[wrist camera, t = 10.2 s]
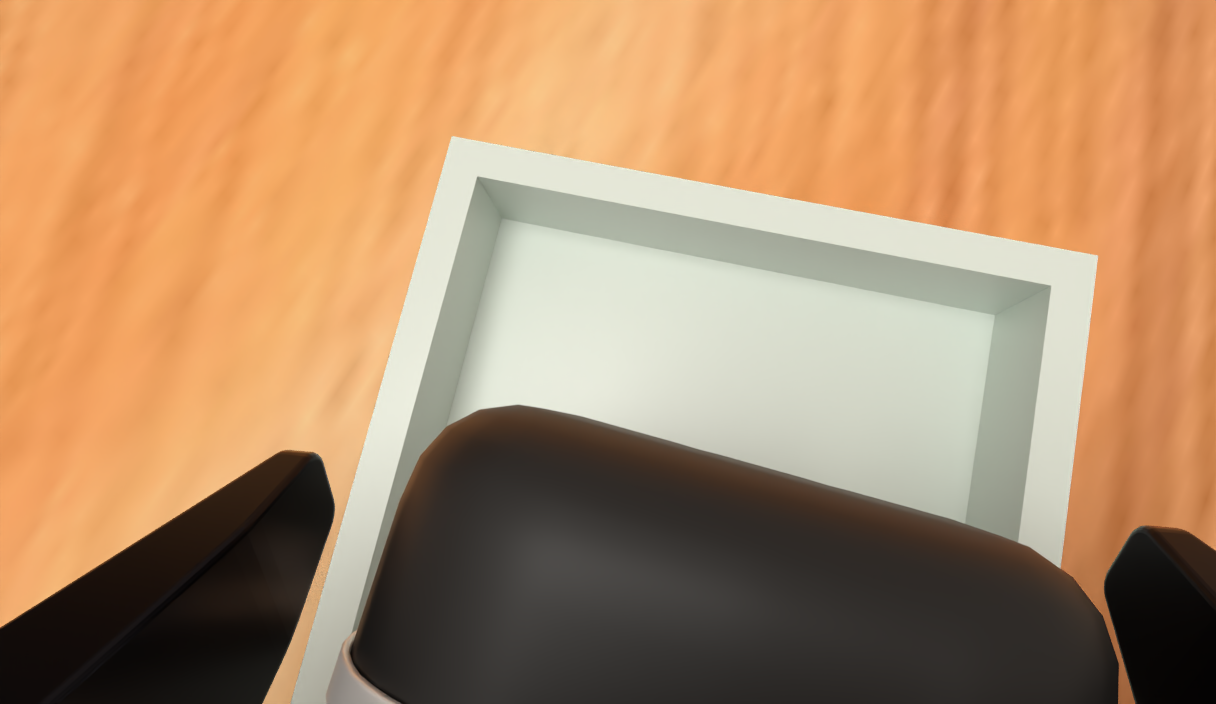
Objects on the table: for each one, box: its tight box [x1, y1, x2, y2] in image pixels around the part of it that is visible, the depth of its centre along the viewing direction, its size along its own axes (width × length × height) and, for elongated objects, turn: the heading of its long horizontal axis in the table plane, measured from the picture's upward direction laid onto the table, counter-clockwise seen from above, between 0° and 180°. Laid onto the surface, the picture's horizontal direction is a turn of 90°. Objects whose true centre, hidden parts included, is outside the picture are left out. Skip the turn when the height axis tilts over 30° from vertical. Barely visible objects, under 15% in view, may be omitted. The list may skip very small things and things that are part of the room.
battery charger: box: [326, 404, 1119, 704], centre depth 11 cm, size 7×4×11 cm, turn 74°
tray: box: [290, 136, 1098, 704], centre depth 16 cm, size 16×14×4 cm
